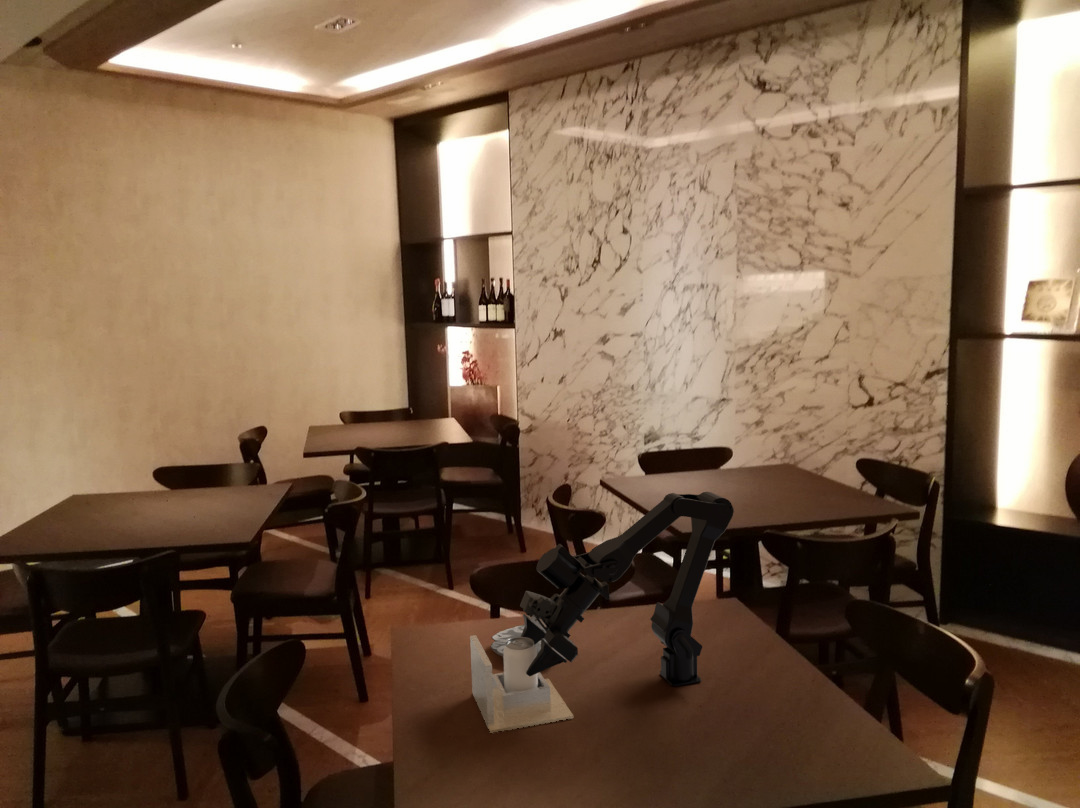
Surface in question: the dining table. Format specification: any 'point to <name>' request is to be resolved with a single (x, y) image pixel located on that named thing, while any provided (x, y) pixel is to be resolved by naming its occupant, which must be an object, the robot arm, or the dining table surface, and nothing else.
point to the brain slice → (506, 635)
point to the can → (519, 664)
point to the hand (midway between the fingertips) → (521, 664)
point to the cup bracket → (512, 697)
